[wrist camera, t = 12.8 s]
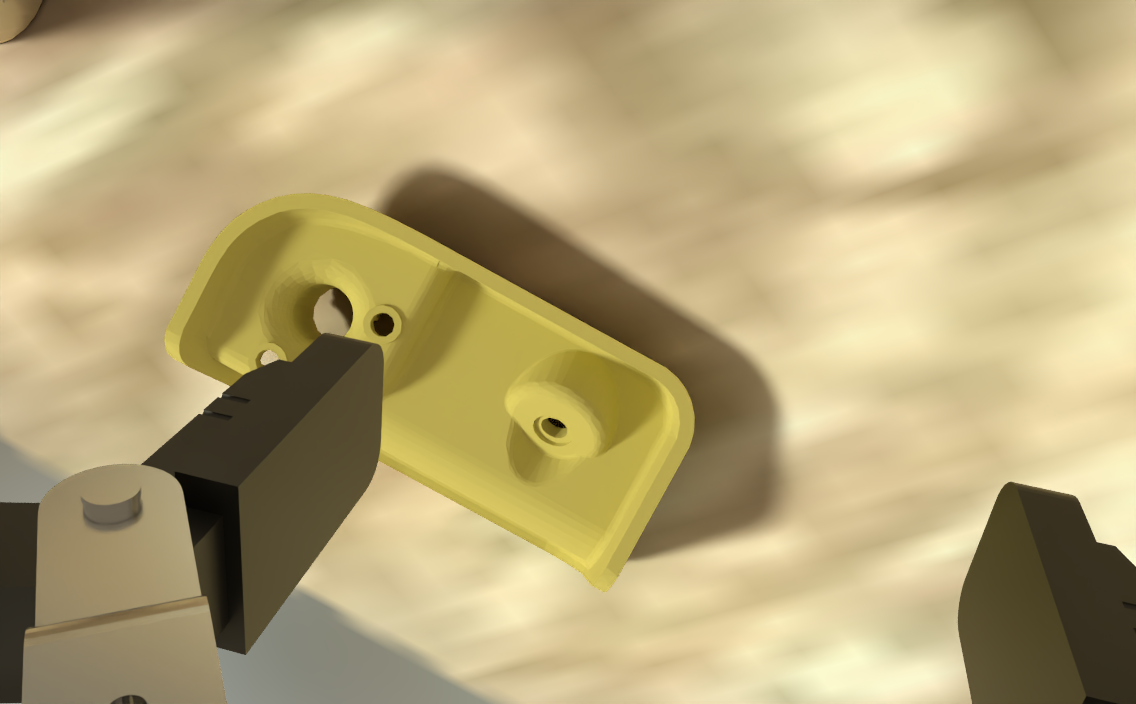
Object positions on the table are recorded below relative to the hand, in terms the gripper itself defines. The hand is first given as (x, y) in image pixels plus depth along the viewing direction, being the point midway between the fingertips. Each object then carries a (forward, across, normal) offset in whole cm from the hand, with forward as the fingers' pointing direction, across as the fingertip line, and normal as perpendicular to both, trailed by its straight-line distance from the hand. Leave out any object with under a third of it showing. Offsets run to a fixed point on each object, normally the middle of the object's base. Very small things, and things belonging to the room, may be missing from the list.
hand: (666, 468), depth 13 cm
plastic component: (+26, +10, +13) cm, 31 cm away
